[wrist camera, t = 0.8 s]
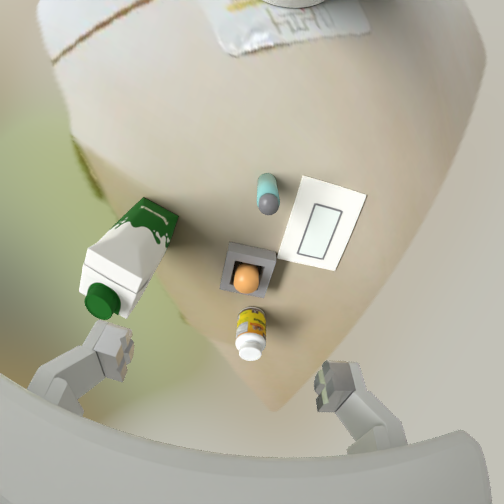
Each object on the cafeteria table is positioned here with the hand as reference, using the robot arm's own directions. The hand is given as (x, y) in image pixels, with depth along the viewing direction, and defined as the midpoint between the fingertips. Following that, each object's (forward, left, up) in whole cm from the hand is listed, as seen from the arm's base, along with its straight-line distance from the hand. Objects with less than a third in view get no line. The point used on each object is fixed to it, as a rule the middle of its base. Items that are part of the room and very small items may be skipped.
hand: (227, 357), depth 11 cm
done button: (+18, +3, -32) cm, 37 cm away
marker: (+2, +3, -34) cm, 34 cm away
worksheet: (+7, +13, -34) cm, 37 cm away
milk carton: (+13, -14, -34) cm, 39 cm away
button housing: (+18, +3, -34) cm, 38 cm away
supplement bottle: (+29, +7, -34) cm, 45 cm away
